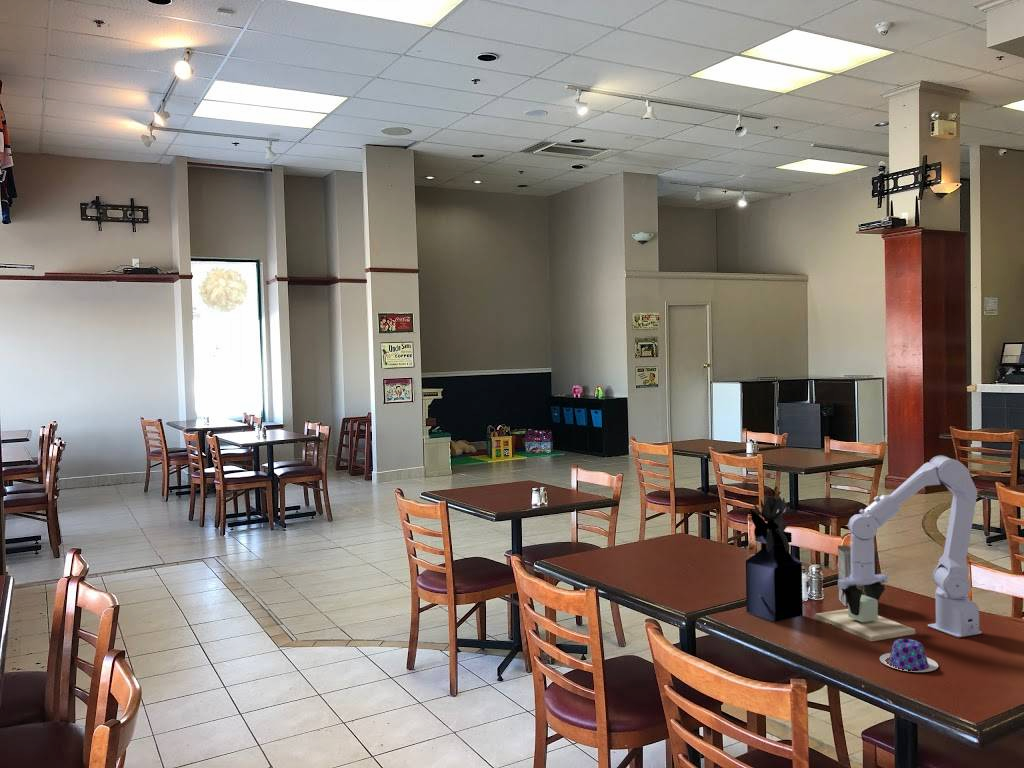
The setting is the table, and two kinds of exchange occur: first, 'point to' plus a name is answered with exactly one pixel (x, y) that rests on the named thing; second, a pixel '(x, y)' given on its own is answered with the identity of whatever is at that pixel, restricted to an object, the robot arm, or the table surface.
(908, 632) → the board
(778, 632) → the table surface
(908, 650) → the purple patterned hat
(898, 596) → the table surface
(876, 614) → the pale green cube
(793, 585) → the vase
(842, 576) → the coffee box
